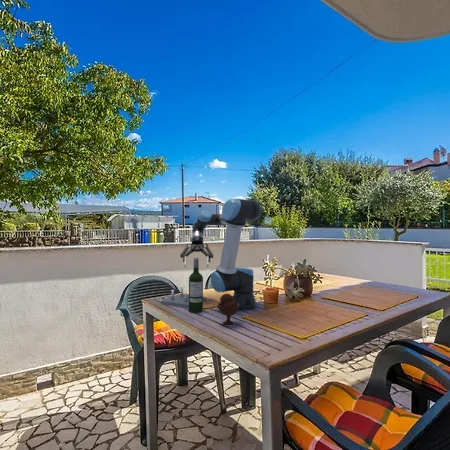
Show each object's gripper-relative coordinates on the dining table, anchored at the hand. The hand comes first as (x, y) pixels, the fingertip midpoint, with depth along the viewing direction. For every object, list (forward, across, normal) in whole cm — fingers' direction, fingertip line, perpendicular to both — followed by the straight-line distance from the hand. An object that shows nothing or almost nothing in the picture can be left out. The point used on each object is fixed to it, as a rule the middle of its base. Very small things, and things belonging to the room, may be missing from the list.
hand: (196, 266), depth 174 cm
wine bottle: (+24, 0, -10) cm, 26 cm away
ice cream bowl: (+40, -17, +6) cm, 44 cm away
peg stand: (+10, +8, -24) cm, 27 cm away
